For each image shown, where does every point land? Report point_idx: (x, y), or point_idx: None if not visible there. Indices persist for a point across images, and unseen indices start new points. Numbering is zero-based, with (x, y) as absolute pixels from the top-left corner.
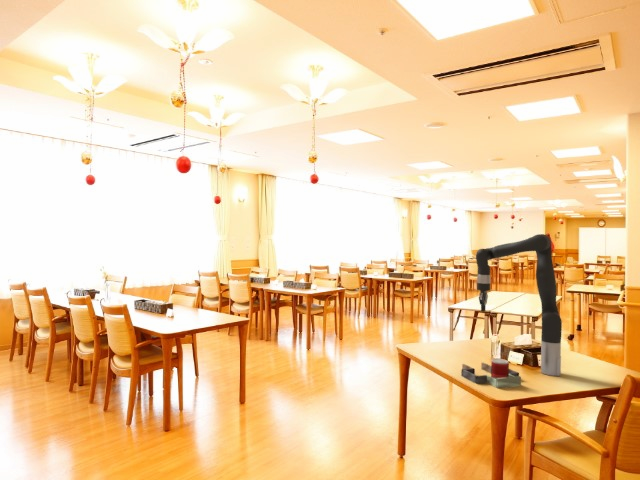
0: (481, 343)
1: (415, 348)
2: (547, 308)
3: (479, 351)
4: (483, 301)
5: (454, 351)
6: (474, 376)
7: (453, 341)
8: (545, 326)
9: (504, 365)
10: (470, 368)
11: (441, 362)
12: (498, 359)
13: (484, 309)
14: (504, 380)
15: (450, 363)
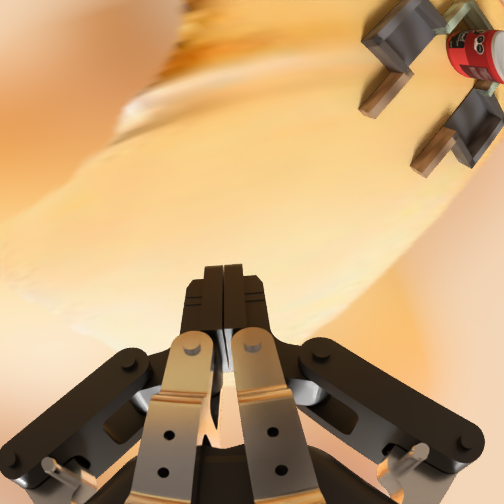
0: (3, 239)
1: None
2: None
3: (97, 201)
4: (404, 386)
5: (174, 271)
6: (501, 125)
7: (59, 312)
8: None
9: None
10: (452, 145)
11: (356, 252)
12: (498, 61)
13: (245, 284)
14: None
15: (353, 226)
